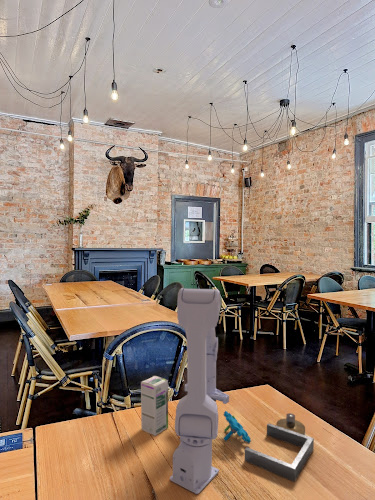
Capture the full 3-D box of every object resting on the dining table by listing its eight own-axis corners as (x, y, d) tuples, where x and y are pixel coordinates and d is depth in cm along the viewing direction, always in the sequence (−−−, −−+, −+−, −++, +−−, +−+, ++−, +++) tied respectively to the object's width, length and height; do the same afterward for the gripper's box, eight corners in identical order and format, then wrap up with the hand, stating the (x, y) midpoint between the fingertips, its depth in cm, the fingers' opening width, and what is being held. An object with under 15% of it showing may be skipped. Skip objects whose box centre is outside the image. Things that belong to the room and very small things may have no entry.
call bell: (299, 443, 94) (300, 425, 94) (272, 434, 99) (272, 416, 99) (308, 430, 101) (308, 414, 100) (282, 422, 105) (282, 406, 105)
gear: (255, 445, 90) (228, 417, 91) (240, 462, 90) (213, 433, 91) (248, 428, 101) (224, 403, 102) (234, 443, 101) (210, 417, 102)
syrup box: (155, 436, 97) (155, 386, 96) (140, 429, 100) (140, 380, 100) (168, 428, 101) (168, 379, 101) (153, 421, 105) (154, 374, 105)
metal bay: (294, 481, 79) (294, 469, 79) (244, 461, 87) (244, 449, 86) (313, 449, 92) (313, 438, 92) (268, 433, 99) (268, 423, 99)
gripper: (234, 376, 101) (233, 422, 101) (193, 365, 109) (193, 407, 110) (222, 384, 95) (221, 432, 96) (180, 372, 104) (180, 416, 104)
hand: (205, 420), depth 102 cm, fingers closed
